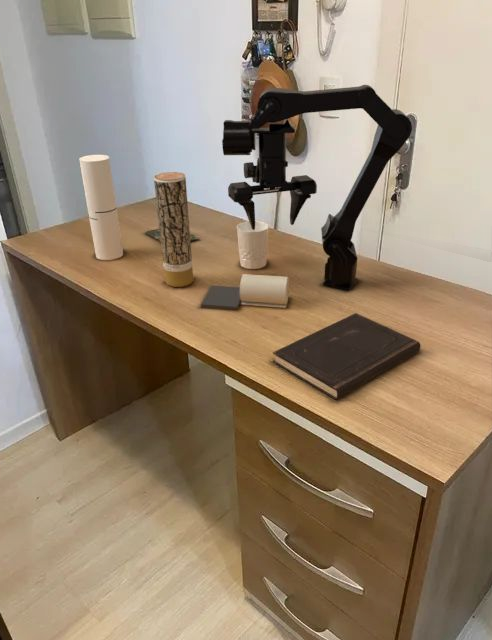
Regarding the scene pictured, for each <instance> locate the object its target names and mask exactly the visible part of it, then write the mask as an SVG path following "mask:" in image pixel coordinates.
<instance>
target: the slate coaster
mask: <svg viewBox="0 0 492 640" xmlns="http://www.w3.org/2000/svg"><path fill="white" fill-rule="evenodd" d="M241 302H242V301H241V299H240V286H227V285H211V286H210V288H209V290H208V291H207V293H206V294H205V296H204V298H203V300H202V301H201V304H200V308H203V309H214V310H215V309H216V310H227V311H229V310H230V311H237V310H238V308H239V305H240V304H241Z"/></svg>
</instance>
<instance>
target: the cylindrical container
mask: <svg viewBox="0 0 492 640" xmlns="http://www.w3.org/2000/svg"><path fill="white" fill-rule="evenodd" d="M78 159H79V160H78V161H79V166H80V172H81V177H82V184H83V189H84V195H85V203H86V207H87V212H88V219H89V225H90V230H91V236H92V241H93V246H94V252H95V258H96V259H98V260H102V261H111V260H117V259H119V258H121V257H122V256H124V250H123V243H122V235H121V229H120V223H119V221H120V220H119V216H118V215H119V213H118V208H117V201H116V195H115V187H114V181H113V173H112V167H111V160H110V156H109V155H107V154H89V155H84V156H81V157H79V158H78Z"/></svg>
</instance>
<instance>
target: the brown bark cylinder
mask: <svg viewBox="0 0 492 640" xmlns="http://www.w3.org/2000/svg"><path fill="white" fill-rule="evenodd" d="M153 181H154V182H153V183H154V193H155V201H156V211H157V219H158V229H159V230H160V239H161V241H160V247H161V248H160V249H161V258H162V266H163V275H164V281H165V283H166V285H167V286H170V287H173V288H182V287H183V288H184V287H187V286H189V285H191V284H192V283H193V282H194V268H193V253H192V243H191V241H192V240H191V241H190V235H191V229H190V217H189V216H190V215H189V205H188V204H189V203H188V202H189V201H188V191H187V178H186V174H185V173H184V172H178V171H168V172H167V171H166V172H161V173H157V174H155V175H154V176H153Z"/></svg>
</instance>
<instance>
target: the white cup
mask: <svg viewBox="0 0 492 640" xmlns="http://www.w3.org/2000/svg"><path fill="white" fill-rule="evenodd" d="M269 227H270V226H269V224H268V223H266V222H263V221H258V220H255V230H253V229H252V228H251V225H250V222H249V220H248V221H244V222H240V223H238V224H237V225H236V235H237V247H238V255H239V265H240V266H241V267H242V268H244V269H247V270H258V269H262V268H265V267H266V266H267V264H268V262H267V261H268V253H269V250H268V249H269V229H270V228H269Z"/></svg>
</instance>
